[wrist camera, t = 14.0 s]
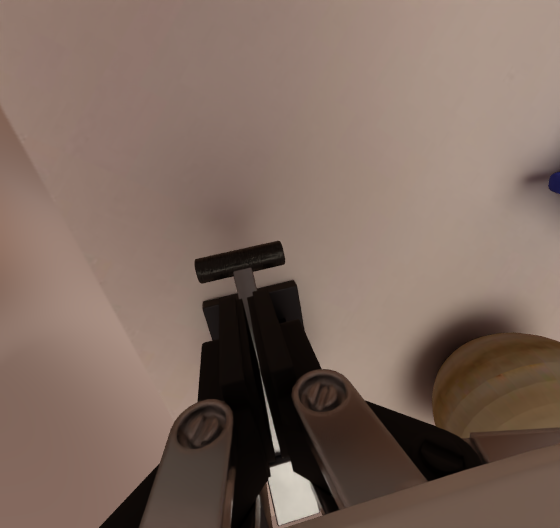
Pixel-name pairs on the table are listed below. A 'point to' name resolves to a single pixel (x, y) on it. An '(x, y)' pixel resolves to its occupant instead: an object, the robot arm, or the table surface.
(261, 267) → the switch lever
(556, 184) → the mug
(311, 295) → the table surface
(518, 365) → the decorative ball
